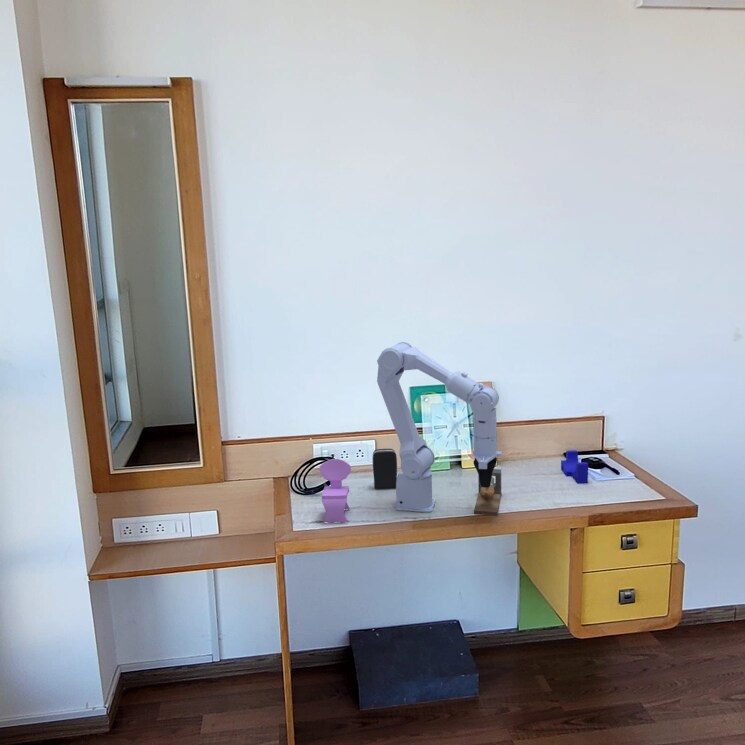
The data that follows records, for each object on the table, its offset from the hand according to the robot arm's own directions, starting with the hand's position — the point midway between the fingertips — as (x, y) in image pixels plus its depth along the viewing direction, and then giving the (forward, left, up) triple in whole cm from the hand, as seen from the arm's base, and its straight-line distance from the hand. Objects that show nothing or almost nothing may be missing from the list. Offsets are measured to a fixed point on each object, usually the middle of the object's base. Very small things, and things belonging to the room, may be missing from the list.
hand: (485, 486), depth 179 cm
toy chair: (-38, -6, -8) cm, 39 cm away
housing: (0, +14, -7) cm, 16 cm away
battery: (-30, +16, -8) cm, 35 cm away
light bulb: (0, +9, -5) cm, 10 cm away
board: (0, +8, -8) cm, 11 cm away
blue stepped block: (+23, +32, -8) cm, 40 cm away
